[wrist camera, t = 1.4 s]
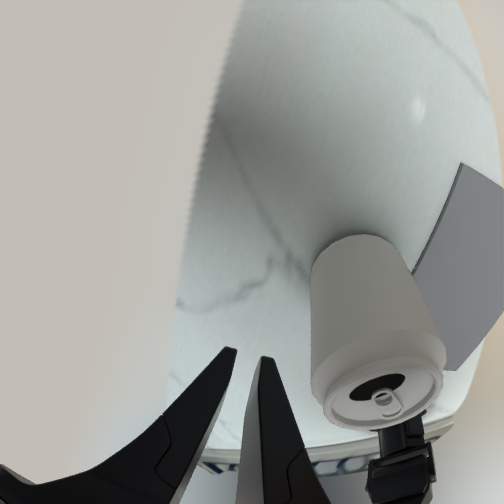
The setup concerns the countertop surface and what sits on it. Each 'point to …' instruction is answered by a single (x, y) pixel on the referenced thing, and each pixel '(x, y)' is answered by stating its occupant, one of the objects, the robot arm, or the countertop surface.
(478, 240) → the mat
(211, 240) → the countertop surface
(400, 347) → the can
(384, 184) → the countertop surface
